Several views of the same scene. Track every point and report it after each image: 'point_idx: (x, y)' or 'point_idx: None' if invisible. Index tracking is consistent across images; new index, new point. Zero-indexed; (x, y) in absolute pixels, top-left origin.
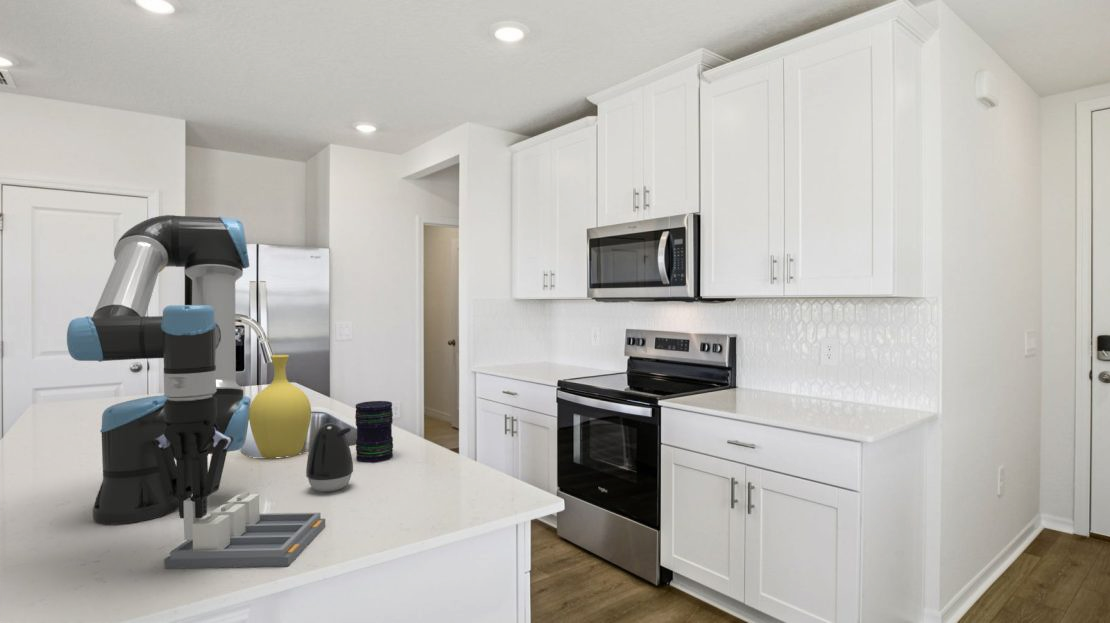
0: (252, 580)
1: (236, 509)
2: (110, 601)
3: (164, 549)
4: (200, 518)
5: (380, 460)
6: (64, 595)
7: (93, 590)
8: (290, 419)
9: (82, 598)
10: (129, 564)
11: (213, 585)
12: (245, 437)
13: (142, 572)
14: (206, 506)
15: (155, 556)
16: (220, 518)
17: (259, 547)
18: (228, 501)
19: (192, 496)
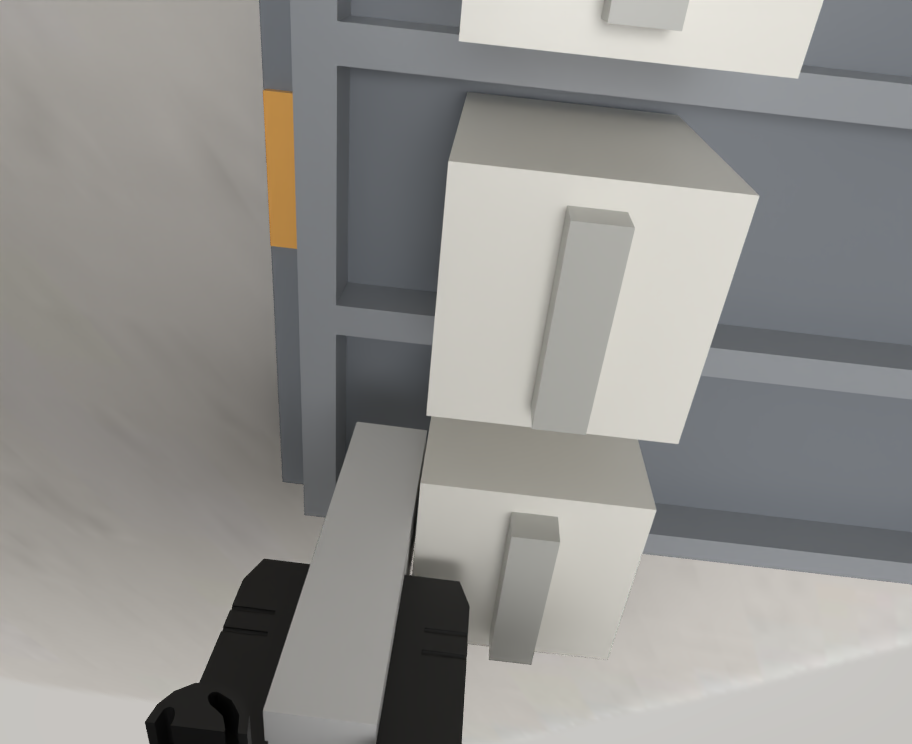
0: (802, 618)
1: (688, 372)
2: None
3: (86, 165)
4: (409, 546)
5: None
6: (35, 601)
7: (120, 585)
8: None
9: (135, 631)
10: (48, 365)
11: (632, 627)
12: None
13: (206, 467)
14: (465, 662)
15: (116, 277)
16: (596, 571)
17: (832, 417)
18: (477, 22)
19: (276, 735)
